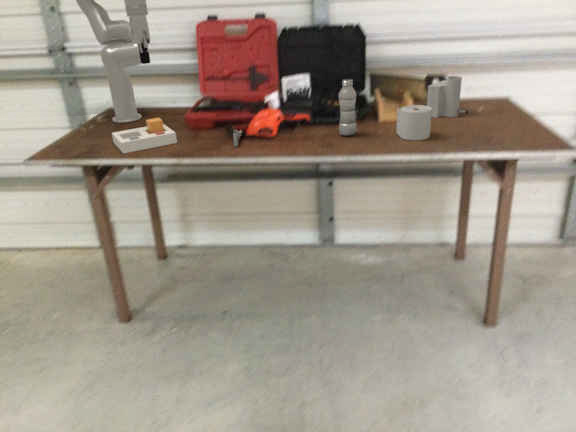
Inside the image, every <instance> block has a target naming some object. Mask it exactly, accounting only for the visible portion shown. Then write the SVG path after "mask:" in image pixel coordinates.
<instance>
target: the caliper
mask: <svg viewBox="0 0 576 432" xmlns="http://www.w3.org/2000/svg"><path fill="white" fill-rule="evenodd" d="M232 132H233V133H232V135H233V137H232V138H233V147H234V148H238V146H239V139H240V138H241V136H242V135H241V133H242V131H241V130H237V129H233V131H232Z"/></svg>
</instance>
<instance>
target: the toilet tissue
mask: <svg viewBox="0 0 576 432" xmlns="http://www.w3.org/2000/svg"><path fill="white" fill-rule="evenodd" d="M431 112H432V108H431V107H429V106H427V105H424V104H412V105H411V104H410V105H404V106H401V107H400V108H399V107H398V106H396V132H395V133H396V134H397V135H398V136H399V138H401V139H403V140H406V141H423V140H427V139H430V136H431V126H432V125H431V123H432V117H431Z"/></svg>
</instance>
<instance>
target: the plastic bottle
mask: <svg viewBox="0 0 576 432" xmlns="http://www.w3.org/2000/svg"><path fill="white" fill-rule="evenodd" d="M353 81H354V80H353V79H351V78H344V79H342V83H341V85H342V88H340V91H339V92H338V101H339V102H338V103H339V112H340V115H339V116H340V117H339V124H338V132H339V133H340V135H341V136H353V135H355V134H356V132H357V123H356V102H357V92H356V90H355V89H354V87H353V85H354V84H353Z"/></svg>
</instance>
